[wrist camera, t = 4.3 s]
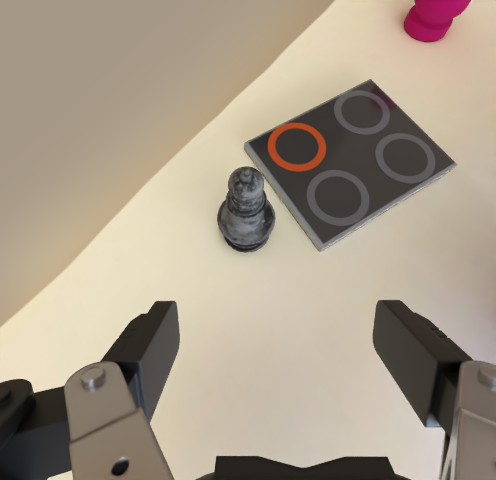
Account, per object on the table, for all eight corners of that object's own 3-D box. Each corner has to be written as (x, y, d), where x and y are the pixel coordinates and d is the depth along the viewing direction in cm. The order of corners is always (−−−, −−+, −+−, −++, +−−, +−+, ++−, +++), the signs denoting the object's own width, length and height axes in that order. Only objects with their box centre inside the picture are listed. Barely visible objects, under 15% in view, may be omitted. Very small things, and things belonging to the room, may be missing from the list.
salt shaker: (209, 226, 32) (189, 165, 21) (249, 197, 33) (250, 123, 22) (242, 265, 30) (240, 222, 19) (283, 233, 32) (303, 174, 20)
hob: (367, 86, 39) (372, 75, 37) (451, 170, 34) (460, 162, 33) (244, 149, 35) (243, 140, 34) (319, 252, 31) (323, 247, 29)
